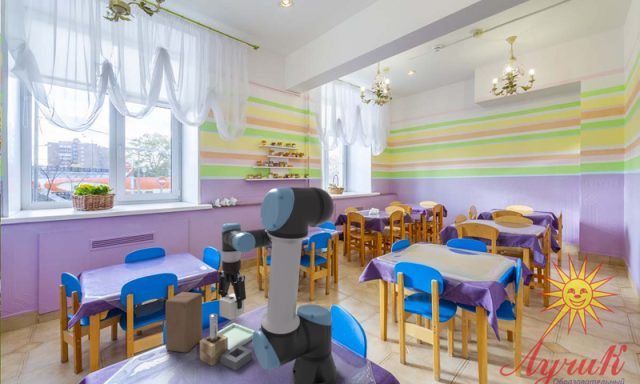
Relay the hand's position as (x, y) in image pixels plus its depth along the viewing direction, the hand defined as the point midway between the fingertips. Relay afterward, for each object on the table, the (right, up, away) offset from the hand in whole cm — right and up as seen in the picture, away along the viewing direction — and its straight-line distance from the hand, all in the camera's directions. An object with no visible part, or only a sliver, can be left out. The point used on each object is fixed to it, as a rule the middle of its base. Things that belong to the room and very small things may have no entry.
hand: (231, 313), depth 113 cm
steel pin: (-3, -11, -12) cm, 17 cm away
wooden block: (-18, -11, -4) cm, 21 cm away
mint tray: (0, -11, 0) cm, 11 cm away
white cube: (0, 0, 0) cm, 0 cm away
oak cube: (-3, -11, -12) cm, 17 cm away
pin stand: (+7, -11, -14) cm, 19 cm away
